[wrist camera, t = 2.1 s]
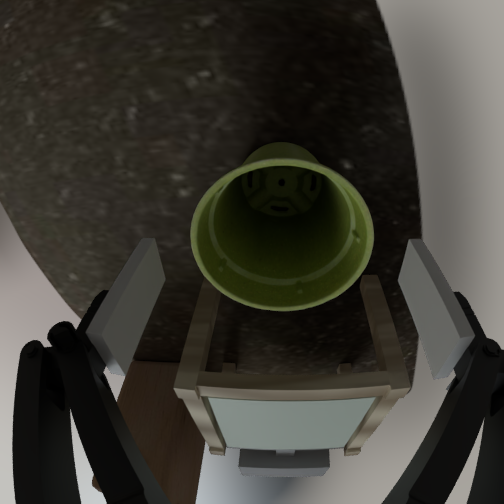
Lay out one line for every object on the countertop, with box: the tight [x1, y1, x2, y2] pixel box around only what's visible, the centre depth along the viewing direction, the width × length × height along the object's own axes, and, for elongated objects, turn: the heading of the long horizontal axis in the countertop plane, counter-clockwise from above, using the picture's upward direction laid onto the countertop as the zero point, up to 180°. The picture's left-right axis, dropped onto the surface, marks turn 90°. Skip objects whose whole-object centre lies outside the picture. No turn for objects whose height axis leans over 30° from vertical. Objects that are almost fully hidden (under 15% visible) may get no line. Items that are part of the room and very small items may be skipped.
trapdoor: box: [208, 396, 376, 477], centre depth 26 cm, size 20×12×4 cm, turn 3°
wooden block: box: [92, 361, 205, 504], centre depth 33 cm, size 10×10×20 cm
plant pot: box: [191, 142, 374, 311], centre depth 19 cm, size 9×9×9 cm
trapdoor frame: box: [173, 275, 411, 456], centre depth 27 cm, size 16×16×12 cm
